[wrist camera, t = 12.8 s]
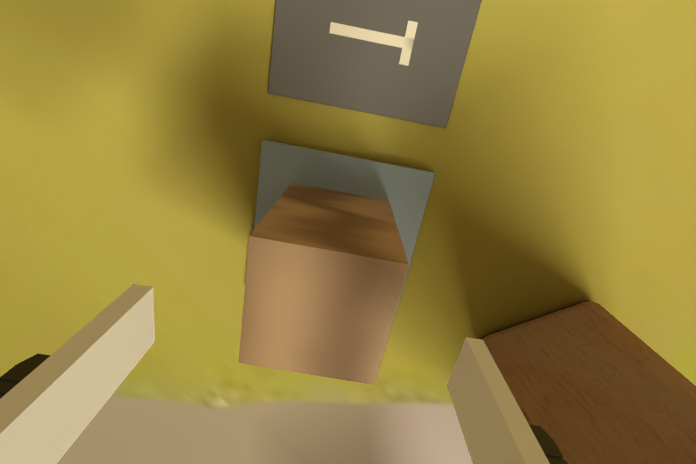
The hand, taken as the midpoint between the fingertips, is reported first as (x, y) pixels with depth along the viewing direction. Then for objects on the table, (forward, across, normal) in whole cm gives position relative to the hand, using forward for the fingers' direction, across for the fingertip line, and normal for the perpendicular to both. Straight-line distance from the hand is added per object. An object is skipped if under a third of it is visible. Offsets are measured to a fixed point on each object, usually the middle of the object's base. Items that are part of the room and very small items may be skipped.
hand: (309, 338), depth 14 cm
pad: (+12, +1, 0) cm, 12 cm away
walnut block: (+12, 0, 0) cm, 12 cm away
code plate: (+12, +1, +15) cm, 19 cm away
